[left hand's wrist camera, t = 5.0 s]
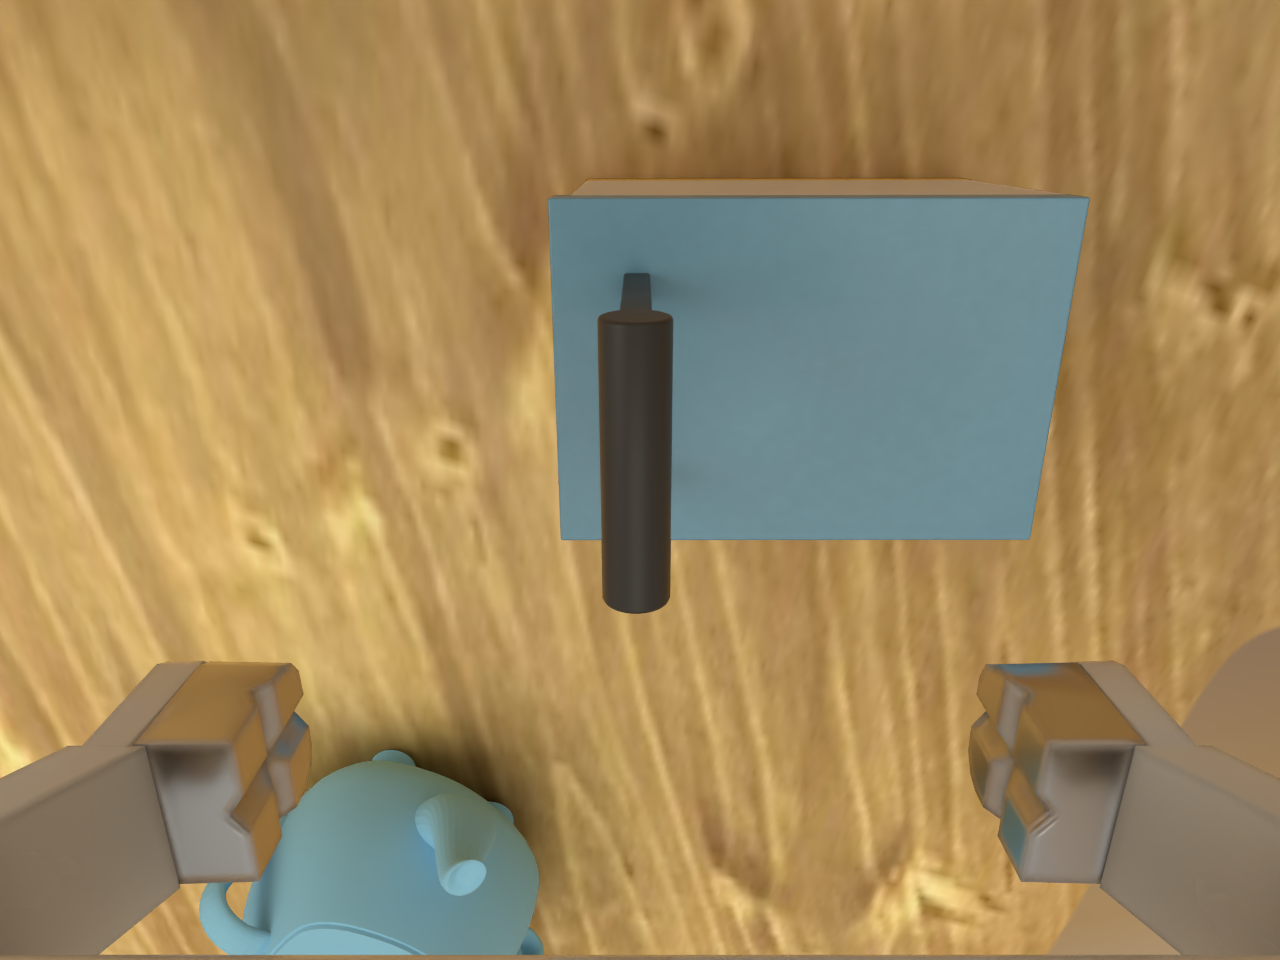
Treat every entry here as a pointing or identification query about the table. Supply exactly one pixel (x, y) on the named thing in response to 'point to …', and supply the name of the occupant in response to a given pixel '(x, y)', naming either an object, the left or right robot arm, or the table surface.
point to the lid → (802, 368)
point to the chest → (800, 187)
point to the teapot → (387, 872)
